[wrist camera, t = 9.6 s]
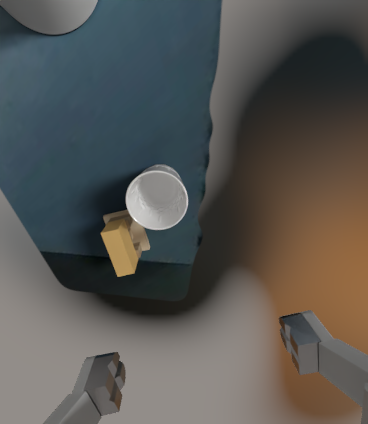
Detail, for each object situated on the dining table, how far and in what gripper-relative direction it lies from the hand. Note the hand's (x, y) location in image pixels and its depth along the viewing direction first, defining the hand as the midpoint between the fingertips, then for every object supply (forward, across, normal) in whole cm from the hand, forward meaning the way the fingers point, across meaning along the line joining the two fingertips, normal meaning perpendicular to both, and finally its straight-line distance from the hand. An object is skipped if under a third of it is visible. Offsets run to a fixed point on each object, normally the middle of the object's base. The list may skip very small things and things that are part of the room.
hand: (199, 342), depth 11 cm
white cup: (+29, +3, -2) cm, 30 cm away
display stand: (+29, +11, +5) cm, 31 cm away
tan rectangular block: (+25, +11, +5) cm, 28 cm away
